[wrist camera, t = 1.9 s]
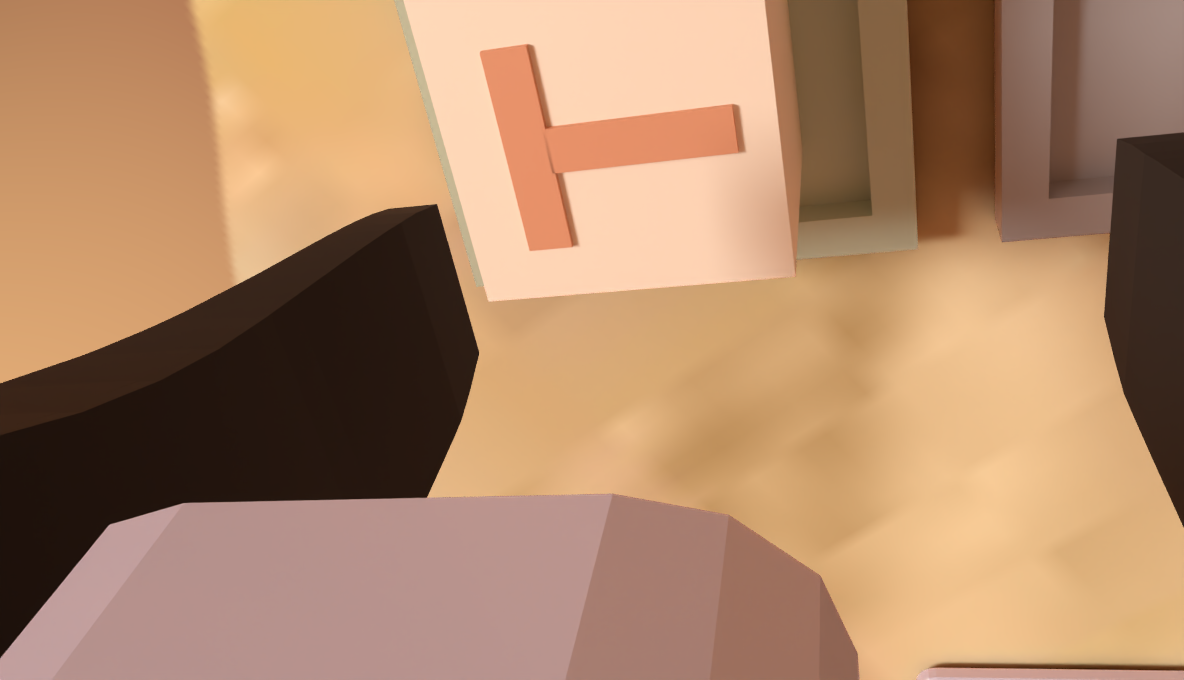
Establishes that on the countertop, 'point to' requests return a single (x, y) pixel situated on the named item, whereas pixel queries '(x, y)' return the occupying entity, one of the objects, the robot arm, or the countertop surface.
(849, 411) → the countertop surface
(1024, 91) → the tray grey
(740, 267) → the letter cube
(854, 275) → the countertop surface
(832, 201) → the tray sage
